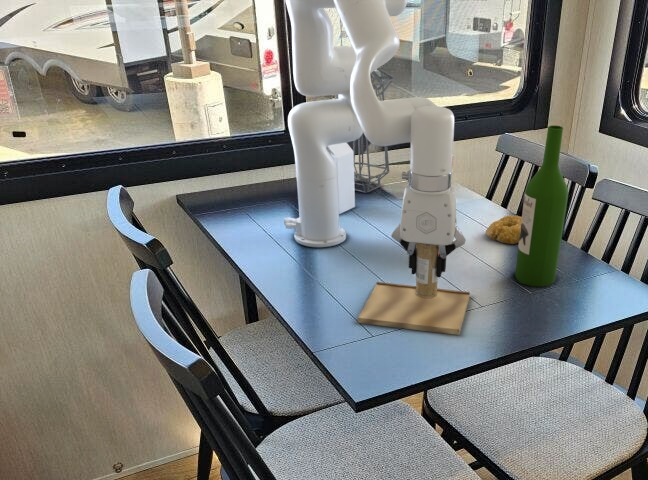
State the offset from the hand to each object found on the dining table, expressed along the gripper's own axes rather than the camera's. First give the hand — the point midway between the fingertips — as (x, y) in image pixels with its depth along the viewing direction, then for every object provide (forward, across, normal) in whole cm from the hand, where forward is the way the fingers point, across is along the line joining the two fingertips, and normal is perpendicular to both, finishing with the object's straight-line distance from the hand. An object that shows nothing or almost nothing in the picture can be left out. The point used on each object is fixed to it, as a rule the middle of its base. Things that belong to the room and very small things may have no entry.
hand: (427, 272), depth 134 cm
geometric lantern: (+9, -32, +71) cm, 78 cm away
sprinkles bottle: (+5, 0, 0) cm, 5 cm away
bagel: (+9, +13, +43) cm, 46 cm away
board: (+9, -2, 0) cm, 9 cm away
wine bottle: (+9, +21, +21) cm, 31 cm away
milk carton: (+9, -34, +52) cm, 63 cm away
